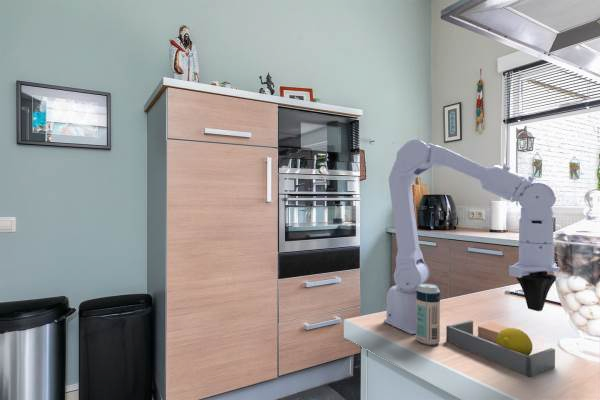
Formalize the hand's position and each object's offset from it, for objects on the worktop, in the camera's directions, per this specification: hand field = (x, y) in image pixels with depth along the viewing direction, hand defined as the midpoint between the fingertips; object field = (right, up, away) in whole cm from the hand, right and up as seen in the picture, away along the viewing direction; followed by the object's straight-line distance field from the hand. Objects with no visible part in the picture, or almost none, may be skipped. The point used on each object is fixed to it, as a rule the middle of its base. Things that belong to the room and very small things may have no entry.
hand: (535, 309), depth 69 cm
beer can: (-20, -8, +4) cm, 22 cm away
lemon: (-3, -7, -1) cm, 8 cm away
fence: (-8, -8, -1) cm, 12 cm away
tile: (-4, -9, +7) cm, 12 cm away
